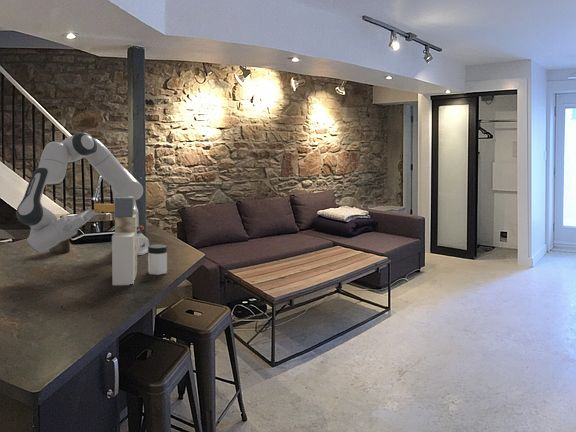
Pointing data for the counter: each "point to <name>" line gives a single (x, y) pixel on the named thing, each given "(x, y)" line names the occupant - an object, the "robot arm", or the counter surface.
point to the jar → (157, 259)
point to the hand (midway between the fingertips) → (97, 210)
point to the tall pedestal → (128, 230)
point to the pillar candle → (61, 247)
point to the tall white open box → (123, 258)
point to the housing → (118, 207)
